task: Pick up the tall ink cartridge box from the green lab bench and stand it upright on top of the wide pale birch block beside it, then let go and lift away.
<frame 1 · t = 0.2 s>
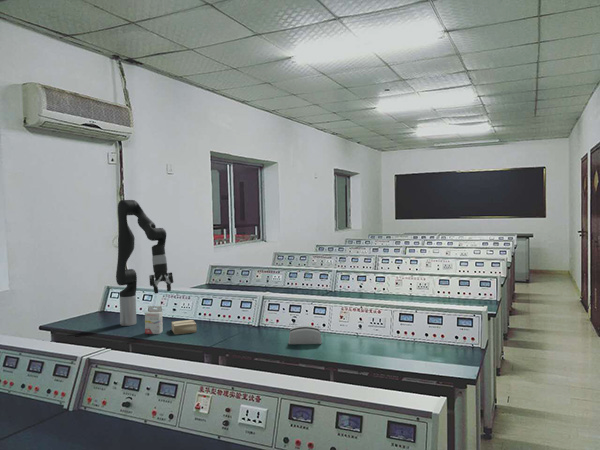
hand: (162, 292, 271), 23 cm above the workbench, tool pointing down, fingers open, 8 cm apart
ink cartridge box: (154, 333, 271), on the workbench
grey arched block: (305, 344, 242), on the workbench
birch block: (184, 331, 274), on the workbench
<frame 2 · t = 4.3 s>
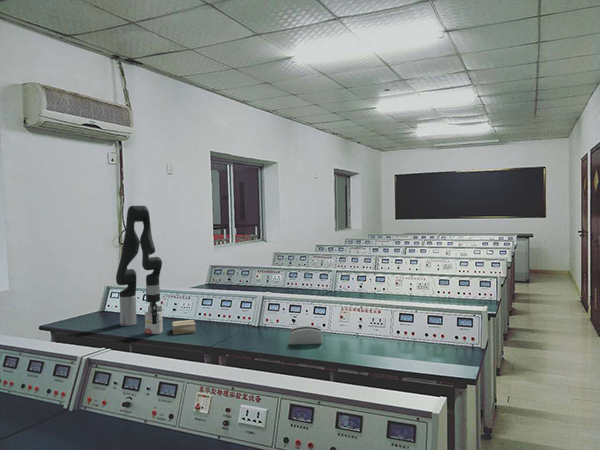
hand: (153, 322, 270), 6 cm above the workbench, tool pointing down, fingers closed on ink cartridge box, 6 cm apart
ink cartridge box: (154, 333, 271), on the workbench, touching gripper
everything else where it was.
when the fingers open (12 cm above the workbench, at t = 13.1 s): ink cartridge box drops 2 cm, resting on birch block.
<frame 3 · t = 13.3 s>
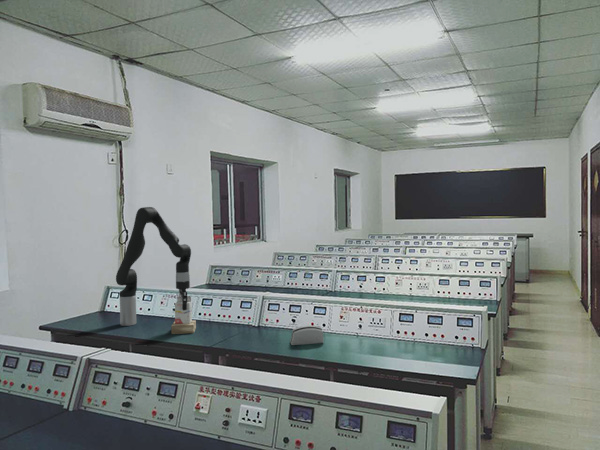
hand: (183, 308, 274), 13 cm above the workbench, tool pointing down, fingers open, 8 cm apart
ink cartridge box: (183, 323, 274), point 4 cm above the workbench, touching birch block
birch block: (184, 331, 274), on the workbench, touching ink cartridge box
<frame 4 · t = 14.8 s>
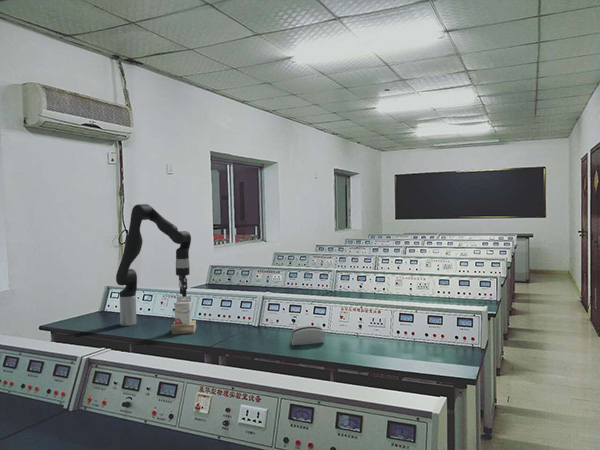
hand: (183, 295, 273), 20 cm above the workbench, tool pointing down, fingers open, 8 cm apart
ink cartridge box: (183, 323, 274), point 4 cm above the workbench
birch block: (184, 331, 274), on the workbench
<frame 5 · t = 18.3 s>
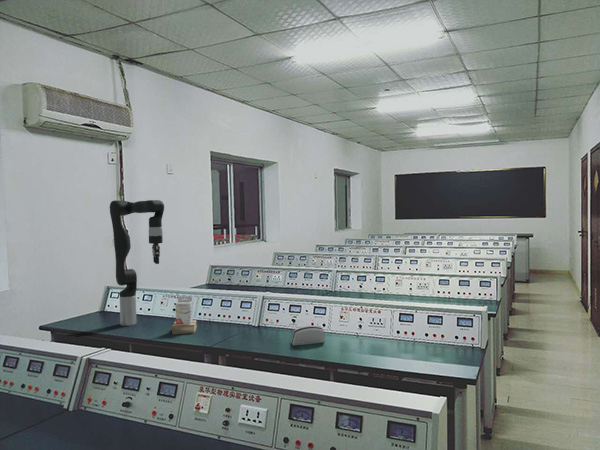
hand: (156, 263, 278), 38 cm above the workbench, tool pointing down, fingers open, 8 cm apart
ink cartridge box: (184, 323, 274), point 4 cm above the workbench, touching birch block
birch block: (184, 331, 274), on the workbench, touching ink cartridge box
at the end: ink cartridge box inside the target area on the birch block (0.2 cm from its centre), point 4.9 cm above the birch block's base; ink cartridge box tilted 1°; the gripper is holding nothing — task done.
